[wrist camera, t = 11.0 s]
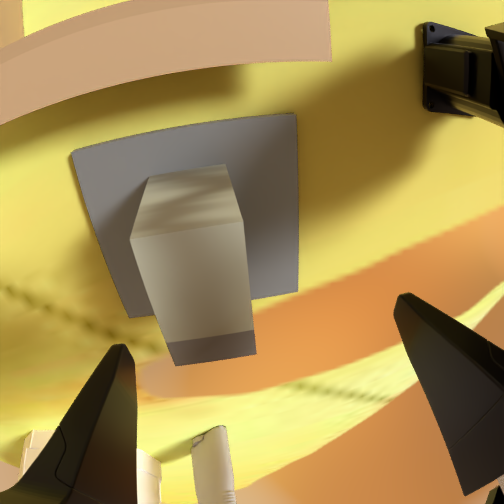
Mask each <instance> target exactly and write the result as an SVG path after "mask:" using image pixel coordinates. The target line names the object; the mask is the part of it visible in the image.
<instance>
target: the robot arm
mask: <svg viewBox="0 0 504 504" xmlns="http://www.w3.org/2000/svg"><path fill="white" fill-rule="evenodd" d="M429 27H431V31H430V28H429ZM485 31H486V34H487V37H489V38H484V37H478V36H475V35H472V34H469V33H467V32H464V31H461V30H457V29H454V28H451V27H448V26H444V25H441V24H437V23H434V22H425V23H424V25H423V40H424V83H423V107H424V109H425V110H428V111H430V112H440V113H450V114H459V115H468V116H475V117H479V118H482V119H484V120H487V121H489V122H491V123H494V124H496V125H498V126H501V127H503V128H504V22H503V23H499V24H495V25H492V26H488V27H485ZM430 102H431V105H430V107H429V103H430ZM394 319H395V322H396V324H397V327H398V330H399V333H400V335H401V338H402V341H403V344H404V347H405V350H406V352H407V355H408V357H409V359H410V361H411V364H412V366H413V368H414V370H415V372H416V374H417V377H418V379H419V381H420V383H421V385H422V388H423V390H424V392H425V394H426V397H427V399H428V401H429V404H430V406H431V408H432V411H433V413H434V416H435V418H436V420H437V423H438V425H439V428H440V430H441V433H442V435H443V438H444V441H445V443H446V446H447V448H448V451H449V454H450V456H451V459H452V462H453V465H454V468H455V470H456V473H457V476H458V479H459V482H460V485H461V488H462V491H463V494H464V496H467V495H469V494H471V493H473V492H474V491H476V490H478V489H480V488H481V487H484V486H485V485H487V484H489V483H490V482H492V481H494V480H495V479H497V480H498V482H499V485H498V486H496V487H495V488H494V489H492V490H491V491H490V492H489V495H488V498H487V501H486V504H504V350H503V349H501V348H499V347H498V346H496V345H495V344H493V343H492V342H490V341H487V339H485V338H484V337H482V336H480V335H479V334H477V333H476V332H474V331H473V330H471V329H469V328H468V327H466V326H465V325H463V324H461V323H460V322H458V321H457V320H455V319H453V318H452V317H450V316H448V315H447V314H445V313H443V312H442V311H440V310H439V309H437V308H435V307H434V306H432V305H430V304H428V303H427V302H425V301H424V300H422V299H420V298H419V297H417V296H415V295H414V294H412V293H409V292H408V293H404V294H400V295H399V296H398V298H397V302H396V305H395V308H394ZM59 425H60V426H58V427H57V428H56V430H55V432H54V433H53V435H52V436H51V438H50V439H49V441H48V442H47V444H46V445H45V447H44V448H43V450H42V451H41V452H40V454H39V455H38V456H37V458H36V459H35V460H34V462H33V463H32V464H31V466H30V467H29V468H28V470H27V471H26V472H25V474H24V475H23V476H22V478H21V479H20V480H19V481H18V482H17V483H16V484H15V485H14V486H13V487H11V488H9V489H8V490H5V491H3V492H0V504H138V499H137V392H136V375H135V362H134V359H133V357H132V355H131V354H130V352H129V350H128V348H127V347H126V345H125V344H114V345H112V346H111V347H110V349H109V350H108V351H107V353H106V354H105V356H104V357H103V359H102V360H101V362H100V363H99V365H98V366H97V367H96V369H95V370H94V372H93V373H92V375H91V376H90V378H89V379H88V381H87V382H86V384H85V385H84V387H83V388H82V390H81V391H80V393H79V394H78V396H77V397H76V399H75V400H74V402H73V403H72V405H71V407H70V408H69V410H68V411H67V413H66V414H65V416H64V417H63V419H62V421H61V422H60V424H59Z"/></svg>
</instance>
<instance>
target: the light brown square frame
mask: <svg viewBox="0 0 504 504" xmlns="http://www.w3.org/2000/svg"><path fill="white" fill-rule="evenodd" d="M287 61H331V62H332V54H331V35H330V19H329V6H328V0H130V1H126V2H122V3H118V4H114V5H111V6H107V7H104V8H100V9H97V10H94V11H90V12H87V13H84V14H81V15H78V16H75V17H73V18H70V19H67V20H64V21H62V22H59V23H56V24H54V25H51V26H49V27H46V28H44V29H42V30H39V31H37V32H35V33H32V34H30V35H28V36H26V37H24V28H23V13H22V0H0V125H2V124H4V123H6V122H8V121H11V120H13V119H15V118H18V117H20V116H23V115H25V114H28V113H30V112H33V111H35V110H38V109H41V108H43V107H46V106H49V105H52V104H55V103H57V102H60V101H63V100H66V99H69V98H72V97H76V96H79V95H82V94H85V93H89V92H92V91H96V90H99V89H103V88H107V87H110V86H114V85H118V84H122V83H126V82H131V81H135V80H140V79H144V78H149V77H154V76H159V75H164V74H170V73H175V72H181V71H188V70H194V69H202V68H209V67H217V66H226V65H237V64H248V63H263V62H287Z"/></svg>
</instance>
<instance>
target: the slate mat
mask: <svg viewBox="0 0 504 504" xmlns="http://www.w3.org/2000/svg"><path fill="white" fill-rule="evenodd" d="M71 154H72V158H73V162H74V166H75V169H76V173H77V177H78V180H79V184H80V187H81V190H82V194H83V197H84V200H85V204H86V207H87V210H88V213H89V216H90V219H91V222H92V225H93V228H94V231H95V234H96V237H97V239H98V242H99V245H100V248H101V250H102V253H103V256H104V258H105V261H106V264H107V266H108V269H109V271H110V274H111V276H112V279H113V281H114V284H115V286H116V289H117V291H118V294H119V296H120V298H121V301H122V303H123V305H124V308H125V310H126V312H127V314H128V317H129V318H135V317H143V316H150V315H155V313H154V311H153V308H152V305H151V302H150V300H149V297H148V294H147V291H146V288H145V286H144V283H143V280H142V277H141V274H140V271H139V268H138V265H137V262H136V259H135V256H134V252H133V249H132V246H131V243H130V236H131V233H132V229H133V226H134V223H135V219H136V216H137V213H138V210H139V206H140V203H141V200H142V197H143V194H144V191H145V188H146V185H147V182H148V179H149V176H153V175H159V174H164V173H170V172H176V171H182V170H188V169H194V168H200V167H207V166H214V165H221V164H226V167H227V171H228V174H229V177H230V180H231V184H232V187H233V190H234V193H235V196H236V200H237V203H238V206H239V209H240V213H241V216H242V219H243V224H244V234H245V245H246V255H247V265H248V275H249V285H250V295H251V300H254V299H260V298H266V297H271V296H277V295H282V294H288V293H293V292H298V254H299V209H298V151H297V120H296V114H294V113H286V114H272V115H261V116H251V117H241V118H233V119H225V120H217V121H210V122H203V123H196V124H190V125H184V126H178V127H172V128H167V129H161V130H156V131H151V132H146V133H141V134H136V135H132V136H127V137H123V138H119V139H114V140H110V141H106V142H102V143H98V144H94V145H90V146H87V147H83V148H79V149H76V150H74V151H73V152H71Z"/></svg>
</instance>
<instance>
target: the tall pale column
mask: <svg viewBox="0 0 504 504" xmlns="http://www.w3.org/2000/svg"><path fill="white" fill-rule="evenodd" d="M191 454H192V464H193V473H194V482H195V490H196V495H197V499H198V504H236V498H235V492H234V475H233V469H232V463H231V456H230V450H229V444H228V437H227V430H226V427H225V426H217V427H214V428H212V429H211V430H209V431H208V432H206V433H205V434H203V435H200V436H197V437H195V438H194V439H193V446H192V448H191Z"/></svg>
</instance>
